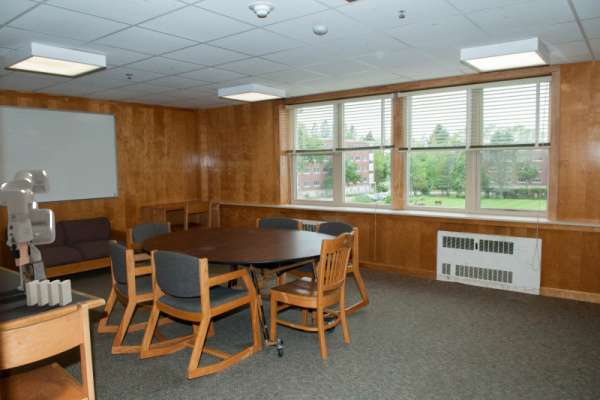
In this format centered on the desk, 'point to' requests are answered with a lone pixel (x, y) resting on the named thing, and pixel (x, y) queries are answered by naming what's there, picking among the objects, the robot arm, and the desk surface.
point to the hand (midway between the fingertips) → (21, 256)
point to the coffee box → (33, 272)
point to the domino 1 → (23, 254)
